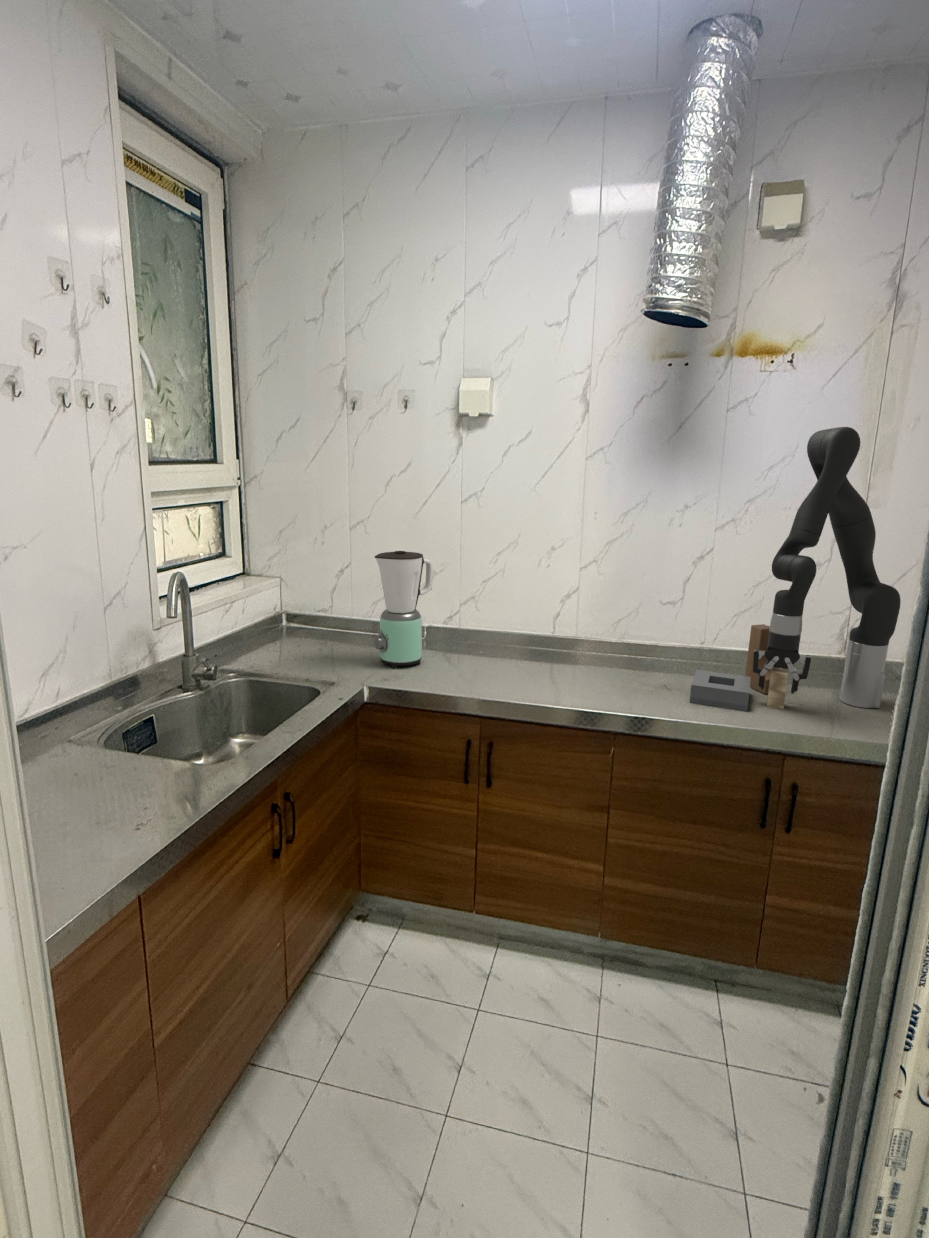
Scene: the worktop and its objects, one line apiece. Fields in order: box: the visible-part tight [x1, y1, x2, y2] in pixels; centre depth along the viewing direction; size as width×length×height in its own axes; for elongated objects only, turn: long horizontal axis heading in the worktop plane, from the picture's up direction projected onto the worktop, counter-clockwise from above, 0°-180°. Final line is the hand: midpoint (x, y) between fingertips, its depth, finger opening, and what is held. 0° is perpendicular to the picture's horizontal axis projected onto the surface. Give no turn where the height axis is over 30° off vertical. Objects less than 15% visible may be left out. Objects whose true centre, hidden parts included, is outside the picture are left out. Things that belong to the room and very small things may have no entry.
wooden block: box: [744, 623, 771, 695], centre depth 193 cm, size 9×4×18 cm, turn 16°
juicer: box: [373, 550, 433, 669], centre depth 210 cm, size 19×13×35 cm
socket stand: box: [689, 669, 751, 712], centre depth 187 cm, size 14×14×5 cm
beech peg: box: [766, 666, 789, 710], centre depth 181 cm, size 4×4×10 cm
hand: (777, 690), depth 182 cm, fingers open, 7 cm apart
